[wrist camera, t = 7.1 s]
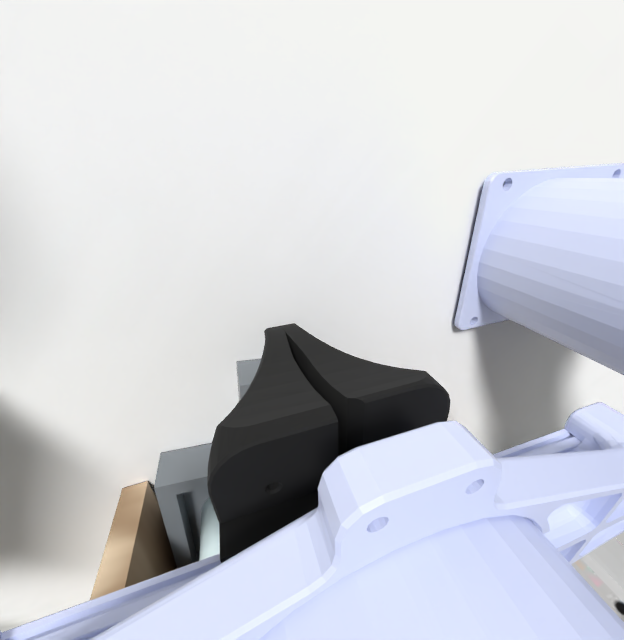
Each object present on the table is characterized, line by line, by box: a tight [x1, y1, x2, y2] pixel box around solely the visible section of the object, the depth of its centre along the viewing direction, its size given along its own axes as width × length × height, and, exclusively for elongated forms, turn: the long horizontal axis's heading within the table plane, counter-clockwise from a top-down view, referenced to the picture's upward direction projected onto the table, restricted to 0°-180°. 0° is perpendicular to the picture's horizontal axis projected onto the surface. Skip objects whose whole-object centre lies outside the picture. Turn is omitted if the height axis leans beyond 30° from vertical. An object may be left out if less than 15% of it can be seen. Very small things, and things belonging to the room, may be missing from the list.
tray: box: [154, 359, 261, 569], centre depth 15 cm, size 12×14×5 cm
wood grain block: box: [90, 481, 177, 600], centre depth 16 cm, size 18×13×9 cm
